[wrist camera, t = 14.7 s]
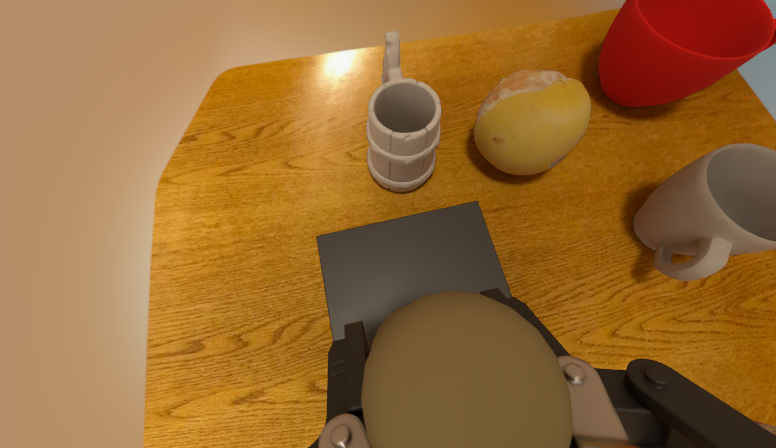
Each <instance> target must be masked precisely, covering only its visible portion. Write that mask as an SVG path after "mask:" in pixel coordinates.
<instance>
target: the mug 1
mask: <svg viewBox="0 0 776 448" xmlns="http://www.w3.org/2000/svg"><path fill="white" fill-rule="evenodd" d="M381 80H382V82H381V83H382V85H381V86H380V87H379V88H377V89H376V91H375V92H374V93H373V95H372V96H371V98H370V101H369V105H368V120H367V126H366V132H367V139H368V142H369V148H368V152H367V163H368V167H369V170H370V172H371V174H372V176H373V177H374V178H375V180H376V181H377V182H378V183H379V184H380V185H381V186H383V187H384V188H386V189H388V188H390V190H391V191H394V192H408V191H411V190H414V189H416V188H418V187H419V185H420V186H421V185H422V184H423V183H424V182H425V181H426V180H427V179H428V178H429V177H430V175H431V173H432V172H433V170H434V168H435V161H436V153H435V148H436V146H438V144H439V141H440V131H441V128H440V117H441V106H440V99H439V97H438V95H437V94H436V92H435V91H434V90H433V89H432V88H431V87H429V86H428V85H427V84H425V83H423V82H421V81H419V82H418V83H417V81H416V80H414V79H410V78H403V76H402V72H401V68H400V40H399V34H398V31H392V32H387V33H385V54H384V59H383V74H382V78H381Z"/></svg>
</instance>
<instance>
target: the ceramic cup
mask: <svg viewBox="0 0 776 448" xmlns="http://www.w3.org/2000/svg"><path fill="white" fill-rule="evenodd" d="M775 43H776V19H773V16H772V13H771V11H770V9H769V8H768V6H767V5H766V3H765V2H764V1H763V0H626V2H625V3H624V5H623V6H622V8H621V9H620V11H619V13H618V14H617V16H616V18H615V19H614V21H613V23H612V25H611V27H610V29H609V31H608V33H607V35H606V37H605V40H604V42H603V45H602V48H601V52H600V58H599V76H600V84H601V88H602V90H603V92H604V93H605V94H606V95H607V97H609V98H610V99H611V100H612V101H614V102H616V103H618V104H620V105H623V106H627V107H639V106H654V105H660V104H665V103H669V102H673V101H676V100H679V99H682V98H684V97H687V96H689V95H691V94H693V93H695V92H698V91H700V90H702V89H704V88H706V87H707V86H709V85H711V84H713V83H715V82H716V81H718V80H720V79H721V78H723V77H724V76H726V75H728V74H729V73H731V72H732V71H734V70H735V69H737V68H738V67H740V66H741V65H743V64H744V63H746V62H747V61H749V60H750V59H751V58H753V57H754V56H756V55H757V54H758V53H760V52H762V51H763V50H766V49H767V48H769V47H771V46H772V45H773V44H775Z"/></svg>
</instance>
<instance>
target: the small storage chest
mask: <svg viewBox="0 0 776 448" xmlns="http://www.w3.org/2000/svg"><path fill="white" fill-rule="evenodd" d="M316 238H317V244H318V250H319V256H320V263H321V269H322V275H323V281H324V288H325V294H326V300H327V306H328V312H329V319H330V325H331V331H332V337H333V342H334V341H336V340H340V339H344V338H345V334H344V325H345V324H349V323H353V322H357V321H361V320H362V321H363V325H364V328H365V332H366V336H367V339H368V343H369V347H370V351H371V347H372V342H373V340H374V337H375V335H376V333H377V330H378V328H379V326H380V325H381V324H382V323H383V322H384V321H385V319H386V318H387V317H388V316H389V315H390V314H391V313H393V312H395V311H396V310H398V309H400V308H401V307H403V306H406V305H409V304H411V303H412V302H414V301H416V300H417V299H419V298H421V297H423V296H427V295H432V294H436V293H440V292H445V291H449V290H451V291H460V292H470V293H480V292H482V291H486V290H490V289H494V288H499V289H500V290H501V292H502V293H503V294H504V295H505V297H506V298H507V299H508V298H512V295H511V293H510V290H509V287H508V284H507V281H506V279H505V276H504V273H503V270H502V267H501V265H500V262H499V259H498V256H497V254H496V251H495V248H494V245H493V242H492V240H491V237H490V234H489V231H488V228H487V226H486V223H485V220H484V217H483V215H482V212H481V209H480V206H479V203H478V201H474V202H470V203H465V204H460V205H456V206H451V207H447V208H442V209H438V210H433V211H429V212H424V213H420V214H415V215H410V216H406V217H401V218H397V219H392V220H388V221H383V222H379V223H374V224H370V225H365V226H360V227H356V228H351V229H347V230H342V231H338V232H333V233H329V234H324V235H320V236H317V237H316Z"/></svg>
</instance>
